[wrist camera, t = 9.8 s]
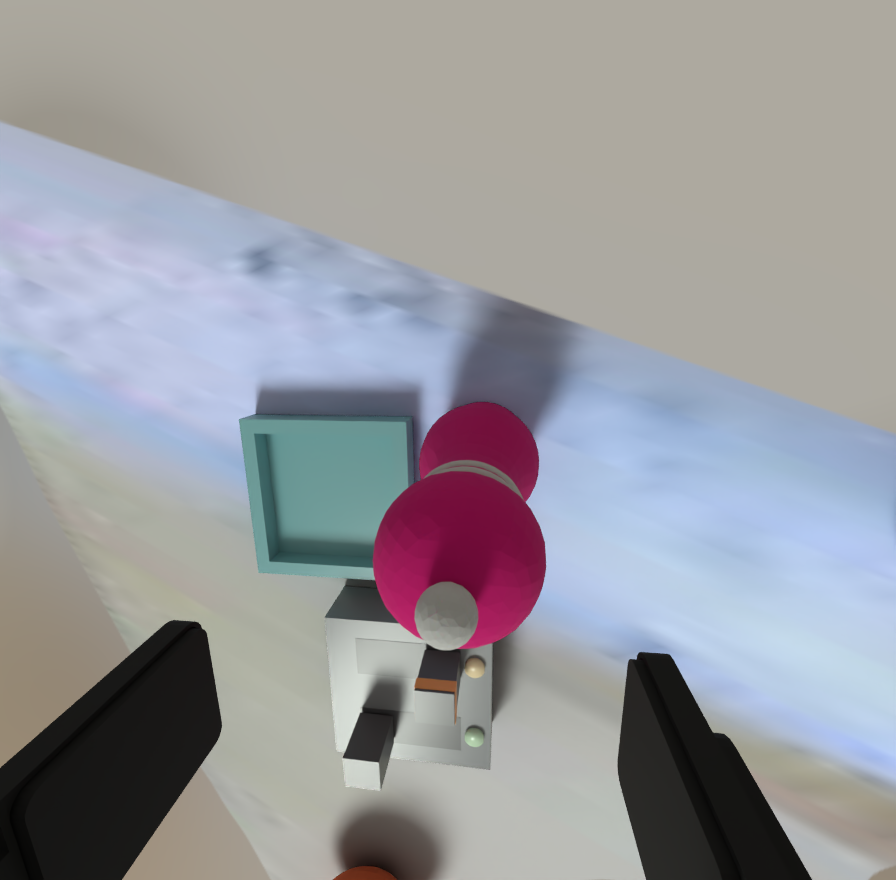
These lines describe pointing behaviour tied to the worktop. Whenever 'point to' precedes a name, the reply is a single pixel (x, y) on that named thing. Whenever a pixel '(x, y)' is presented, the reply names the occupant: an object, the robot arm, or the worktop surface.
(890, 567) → the worktop surface
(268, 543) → the tray
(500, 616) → the pepper mill
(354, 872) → the tomato
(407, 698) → the breaker panel
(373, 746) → the block
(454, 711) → the tagged breaker
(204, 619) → the worktop surface
